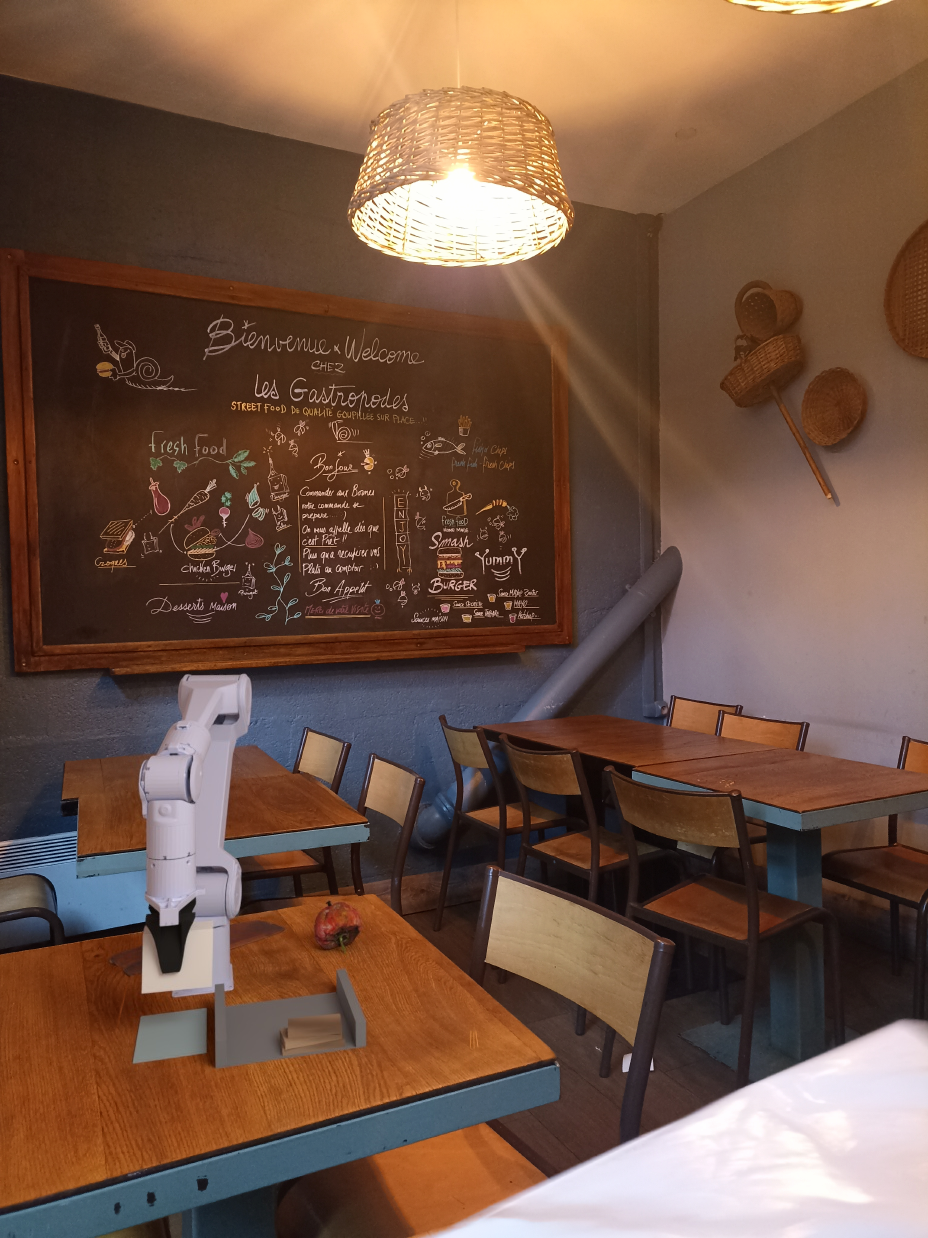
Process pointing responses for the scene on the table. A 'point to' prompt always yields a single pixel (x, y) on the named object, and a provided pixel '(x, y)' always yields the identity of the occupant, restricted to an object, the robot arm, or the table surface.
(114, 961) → the wooden tablet
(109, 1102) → the table surface
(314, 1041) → the offcut stack
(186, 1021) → the mat
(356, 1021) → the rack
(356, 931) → the rotten apple
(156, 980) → the white rectangular block
